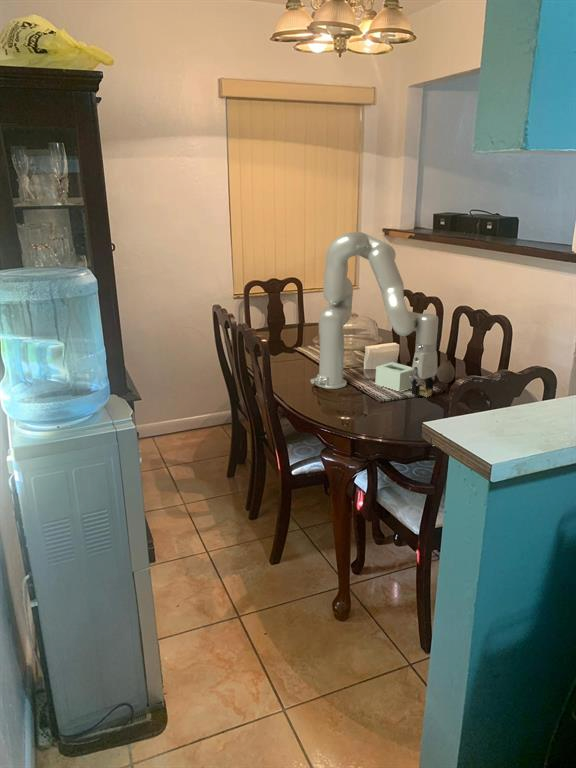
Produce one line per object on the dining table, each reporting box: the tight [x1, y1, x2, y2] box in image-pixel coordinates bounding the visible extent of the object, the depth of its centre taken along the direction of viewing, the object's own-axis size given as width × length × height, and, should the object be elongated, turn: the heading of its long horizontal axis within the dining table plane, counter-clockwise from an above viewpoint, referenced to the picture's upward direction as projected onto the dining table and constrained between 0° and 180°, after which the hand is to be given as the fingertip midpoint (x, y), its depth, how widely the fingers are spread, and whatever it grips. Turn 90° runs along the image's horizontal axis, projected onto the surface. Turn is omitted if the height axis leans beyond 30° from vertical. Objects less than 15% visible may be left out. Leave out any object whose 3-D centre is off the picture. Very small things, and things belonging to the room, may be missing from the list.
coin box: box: [374, 361, 412, 391], centre depth 224 cm, size 10×12×8 cm
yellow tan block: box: [419, 385, 433, 399], centre depth 215 cm, size 3×6×3 cm, turn 45°
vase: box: [436, 359, 456, 384], centre depth 230 cm, size 7×7×9 cm
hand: (422, 392), depth 215 cm, fingers open, 7 cm apart
